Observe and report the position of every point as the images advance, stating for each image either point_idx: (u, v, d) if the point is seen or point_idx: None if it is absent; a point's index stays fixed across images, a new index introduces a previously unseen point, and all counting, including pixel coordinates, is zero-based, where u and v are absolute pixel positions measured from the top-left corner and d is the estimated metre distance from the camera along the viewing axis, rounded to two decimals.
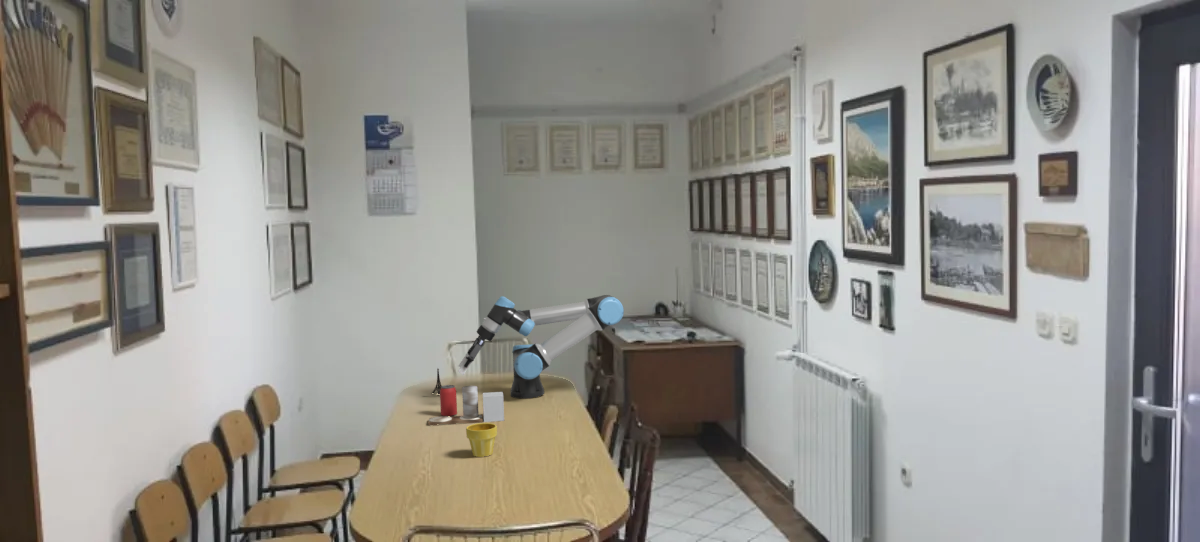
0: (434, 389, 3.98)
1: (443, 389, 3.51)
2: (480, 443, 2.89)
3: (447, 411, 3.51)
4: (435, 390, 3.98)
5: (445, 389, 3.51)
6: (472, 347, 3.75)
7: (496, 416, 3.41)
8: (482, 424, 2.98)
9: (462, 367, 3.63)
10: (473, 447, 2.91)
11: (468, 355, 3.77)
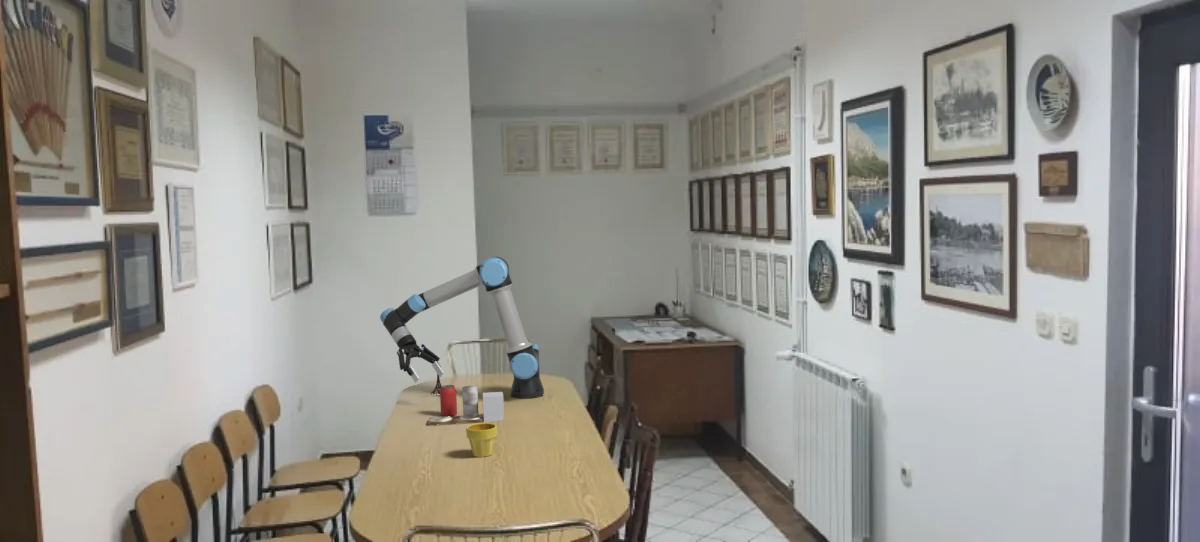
0: (434, 389, 3.98)
1: (443, 389, 3.51)
2: (480, 443, 2.89)
3: (447, 411, 3.51)
4: (435, 390, 3.98)
5: (445, 389, 3.51)
6: (423, 358, 3.67)
7: (496, 416, 3.41)
8: (482, 424, 2.98)
9: (412, 377, 3.55)
10: (473, 447, 2.91)
11: (433, 364, 3.67)
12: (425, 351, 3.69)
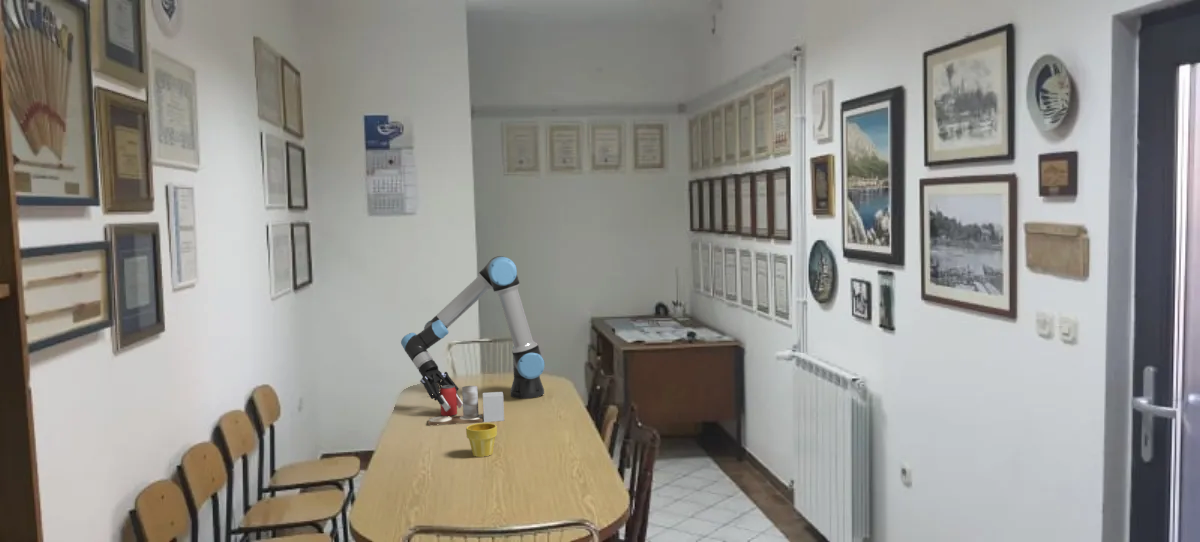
0: None
1: (443, 389, 3.51)
2: (480, 443, 2.89)
3: (447, 411, 3.51)
4: None
5: (445, 389, 3.51)
6: None
7: (496, 416, 3.41)
8: (482, 424, 2.98)
9: (443, 406, 3.50)
10: (473, 447, 2.91)
11: None
12: (446, 379, 3.61)
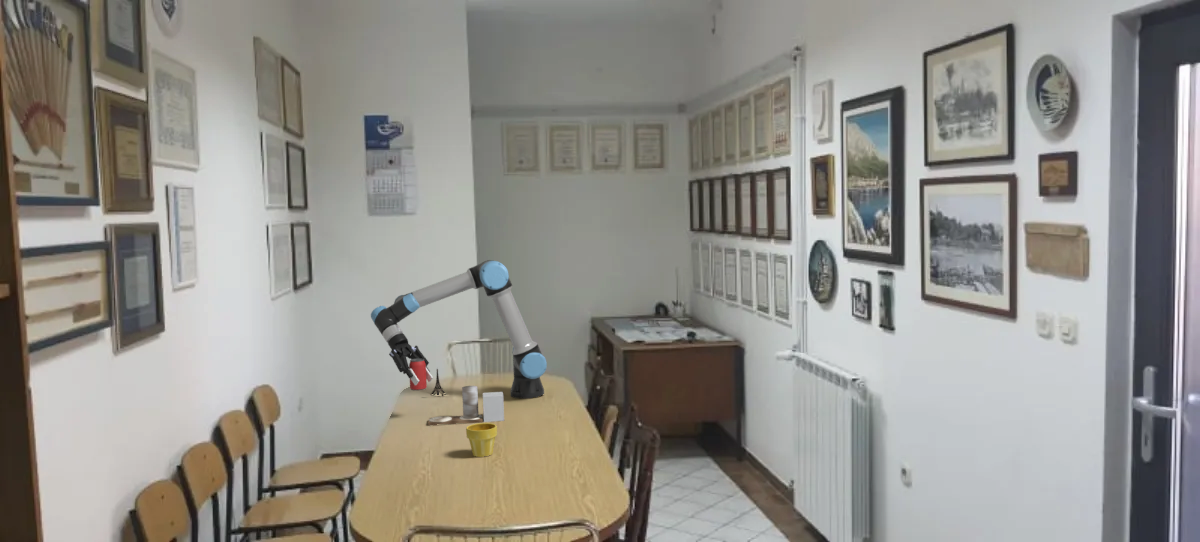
0: (433, 390, 3.96)
1: (412, 362, 3.45)
2: (480, 443, 2.89)
3: None
4: (434, 391, 3.96)
5: (414, 362, 3.44)
6: None
7: (496, 416, 3.41)
8: (482, 424, 2.98)
9: (412, 379, 3.44)
10: (473, 447, 2.91)
11: None
12: (416, 353, 3.55)
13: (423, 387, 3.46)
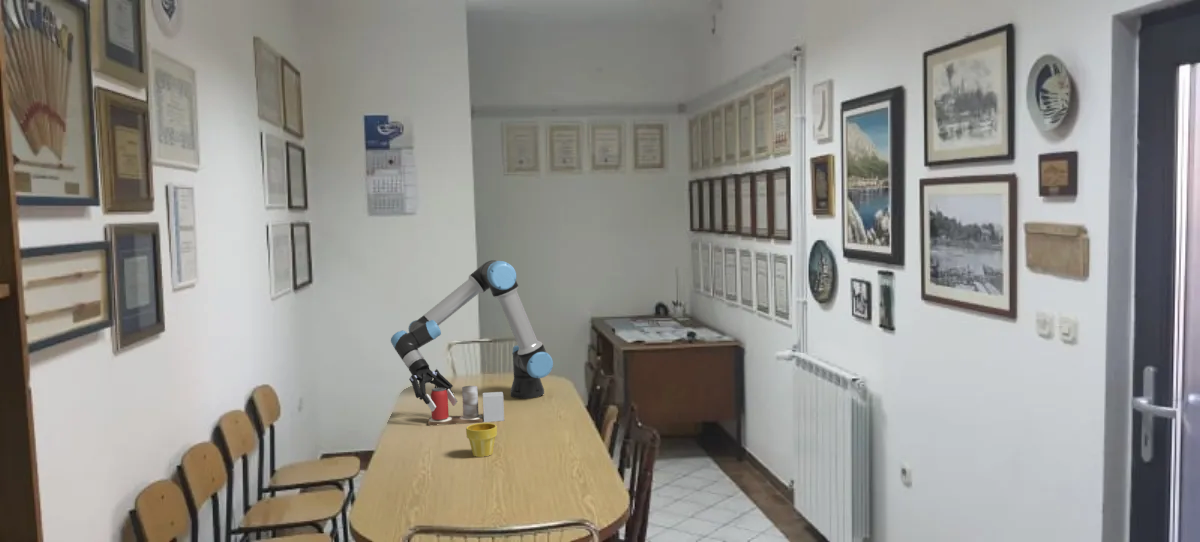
0: None
1: (434, 392, 3.39)
2: (480, 443, 2.89)
3: (438, 414, 3.39)
4: None
5: (436, 392, 3.39)
6: (436, 385, 3.47)
7: (496, 416, 3.41)
8: (482, 424, 2.98)
9: (429, 405, 3.36)
10: (473, 447, 2.91)
11: None
12: (438, 377, 3.50)
13: (445, 417, 3.40)
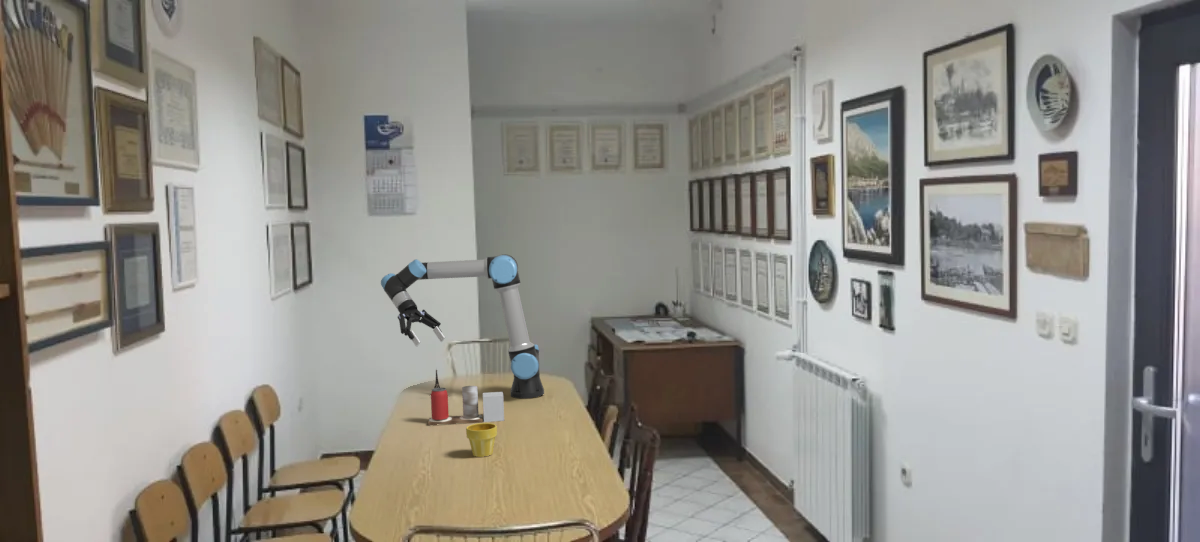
0: None
1: (434, 392, 3.39)
2: (480, 443, 2.89)
3: (438, 414, 3.39)
4: None
5: (436, 392, 3.39)
6: (424, 323, 3.65)
7: (496, 416, 3.41)
8: (482, 424, 2.98)
9: (413, 340, 3.53)
10: (473, 447, 2.91)
11: (434, 329, 3.65)
12: (426, 316, 3.68)
13: (445, 417, 3.40)
